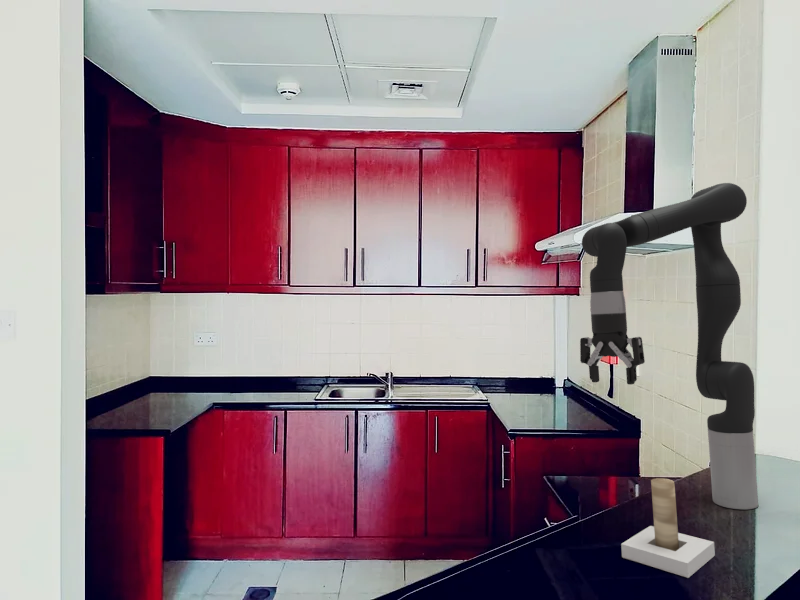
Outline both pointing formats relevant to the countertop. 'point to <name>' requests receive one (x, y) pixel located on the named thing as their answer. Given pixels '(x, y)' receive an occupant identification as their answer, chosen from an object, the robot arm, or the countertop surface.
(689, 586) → the countertop surface
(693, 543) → the socket plate
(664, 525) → the peg
